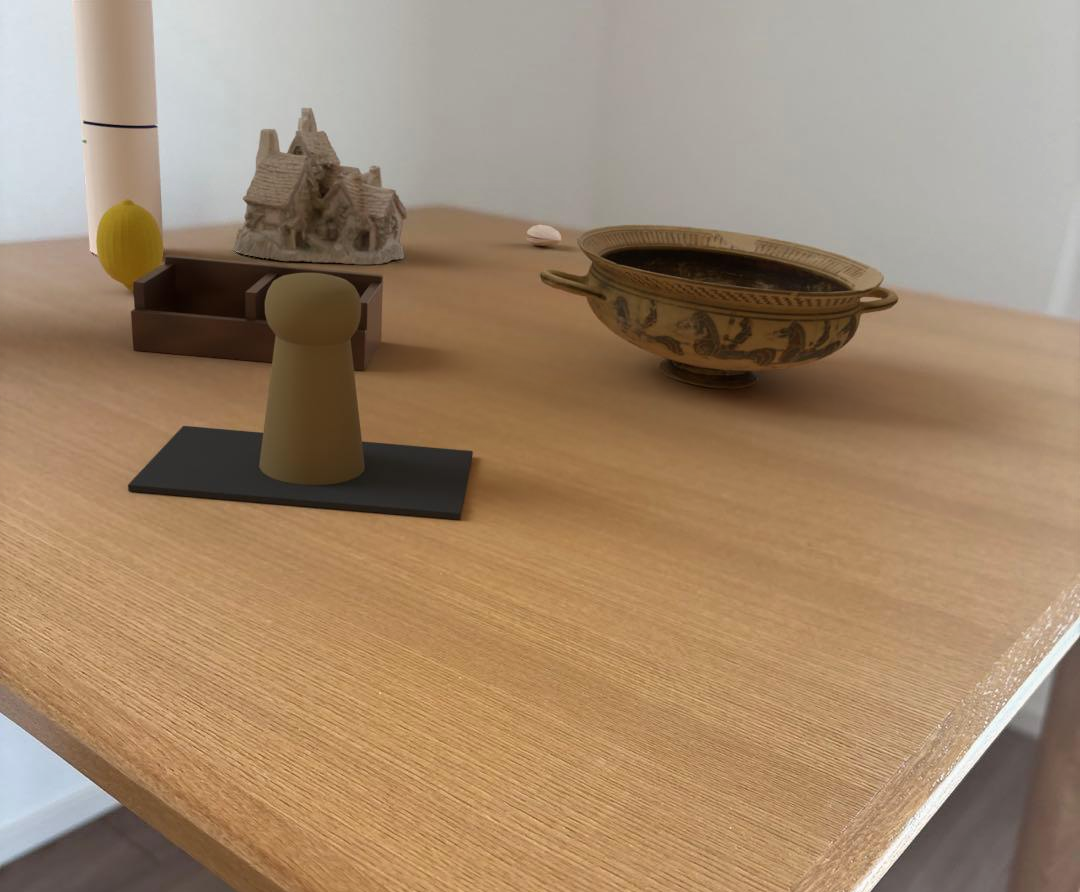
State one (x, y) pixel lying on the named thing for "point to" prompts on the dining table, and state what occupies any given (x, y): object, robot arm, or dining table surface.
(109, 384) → the dining table surface
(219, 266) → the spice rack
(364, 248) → the ceramic cottage
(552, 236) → the clam shell
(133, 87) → the cylindrical container
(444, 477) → the mat
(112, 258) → the lemon
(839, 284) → the ceramic bowl
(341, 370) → the cork
